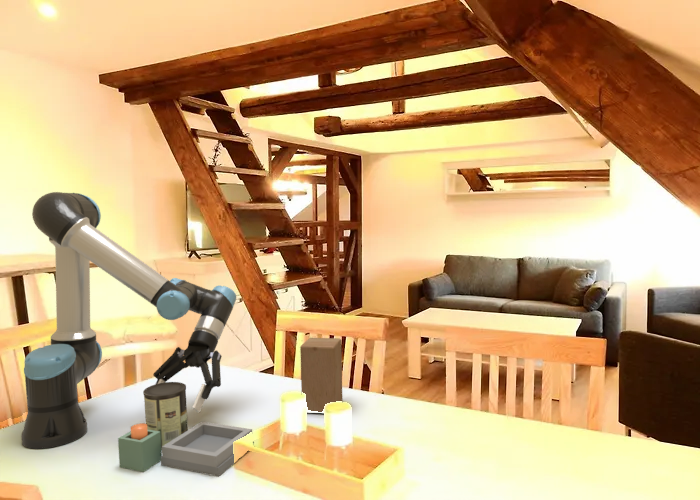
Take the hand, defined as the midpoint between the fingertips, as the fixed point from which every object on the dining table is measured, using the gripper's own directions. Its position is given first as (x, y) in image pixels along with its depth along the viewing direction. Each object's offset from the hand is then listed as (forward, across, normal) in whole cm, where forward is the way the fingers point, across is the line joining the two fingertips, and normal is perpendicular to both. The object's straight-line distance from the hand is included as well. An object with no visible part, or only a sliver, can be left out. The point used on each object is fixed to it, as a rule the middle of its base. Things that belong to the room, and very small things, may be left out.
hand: (173, 407), depth 134 cm
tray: (+10, -14, -3) cm, 17 cm away
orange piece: (+12, -1, +6) cm, 14 cm away
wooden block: (-15, -28, -28) cm, 43 cm away
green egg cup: (+15, -1, +3) cm, 16 cm away
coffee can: (+7, +1, -5) cm, 9 cm away
